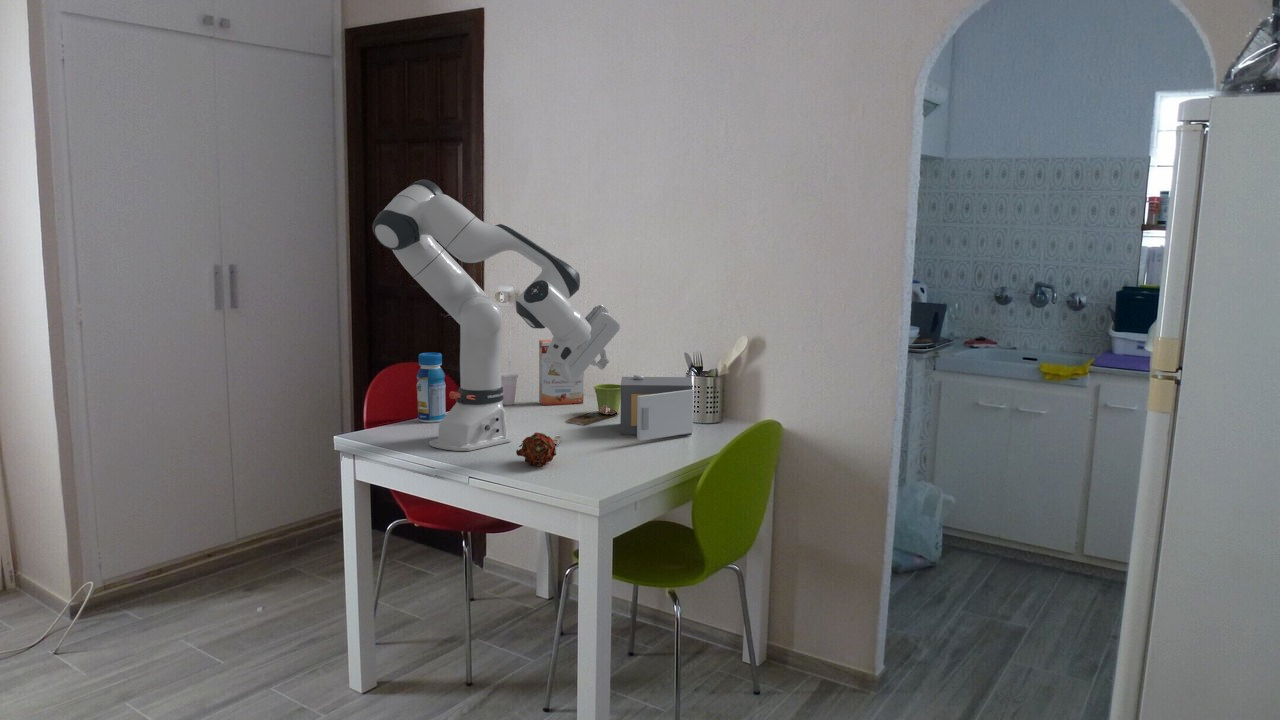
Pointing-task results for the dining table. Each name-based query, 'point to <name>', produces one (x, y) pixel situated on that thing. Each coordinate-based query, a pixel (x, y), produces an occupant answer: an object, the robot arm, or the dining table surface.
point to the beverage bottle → (431, 388)
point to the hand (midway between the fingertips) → (604, 365)
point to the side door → (664, 414)
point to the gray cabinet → (645, 386)
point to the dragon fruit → (537, 449)
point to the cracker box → (556, 382)
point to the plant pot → (608, 396)
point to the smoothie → (509, 386)
